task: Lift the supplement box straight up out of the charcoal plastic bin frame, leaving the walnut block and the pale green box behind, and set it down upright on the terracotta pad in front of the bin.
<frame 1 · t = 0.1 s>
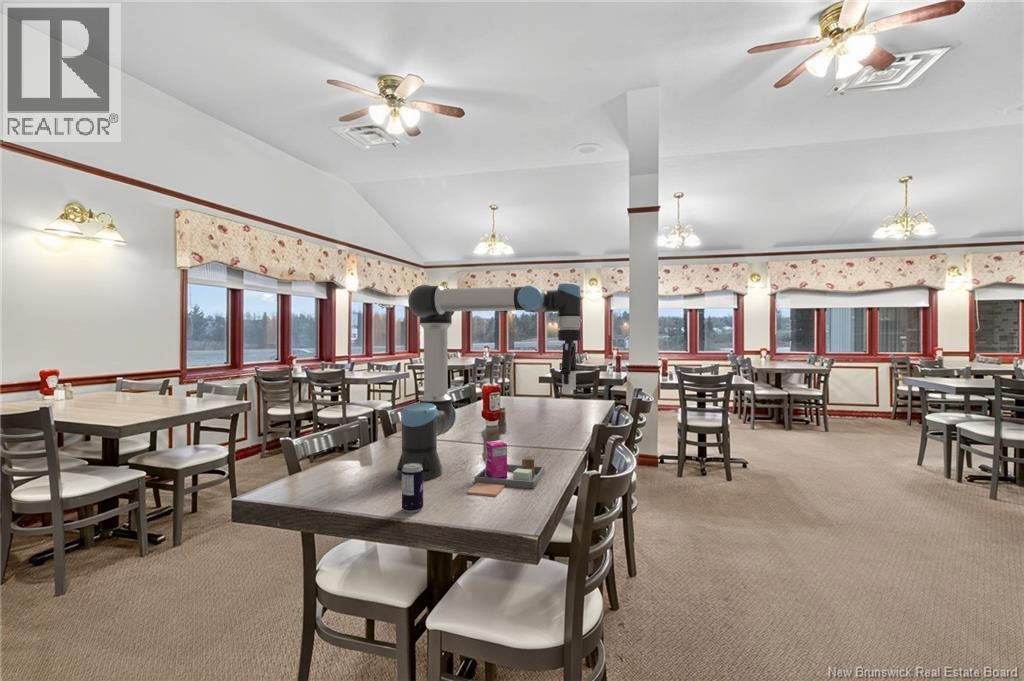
hand: (569, 391, 159), 28 cm above the table, fingers open, 13 cm apart
pad: (486, 490, 142), on the table
walnut block: (528, 475, 157), resting in bin
supplement box: (496, 477, 156), resting in bin
beverage can: (412, 510, 126), on the table
pale green box: (522, 483, 149), resting in bin
bin: (510, 477, 154), on the table
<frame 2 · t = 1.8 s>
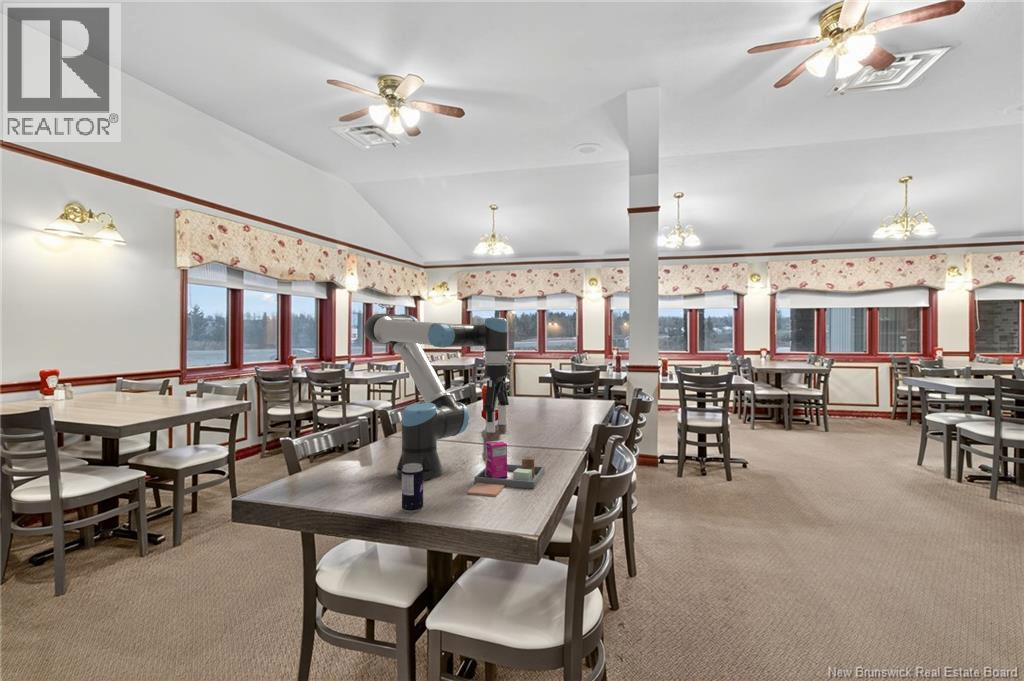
hand: (496, 428, 155), 16 cm above the table, fingers open, 13 cm apart
nothing on the table moved.
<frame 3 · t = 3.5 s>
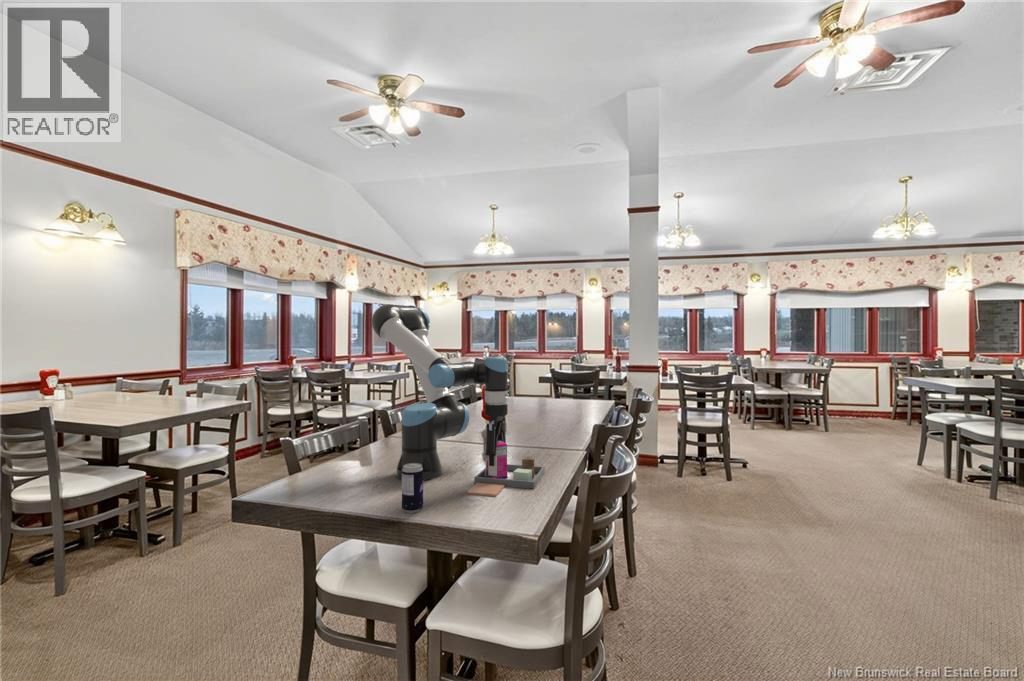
hand: (496, 471, 156), 2 cm above the table, fingers closed on supplement box, 8 cm apart
supplement box: (496, 477, 156), resting in bin, touching gripper
everything else where it was.
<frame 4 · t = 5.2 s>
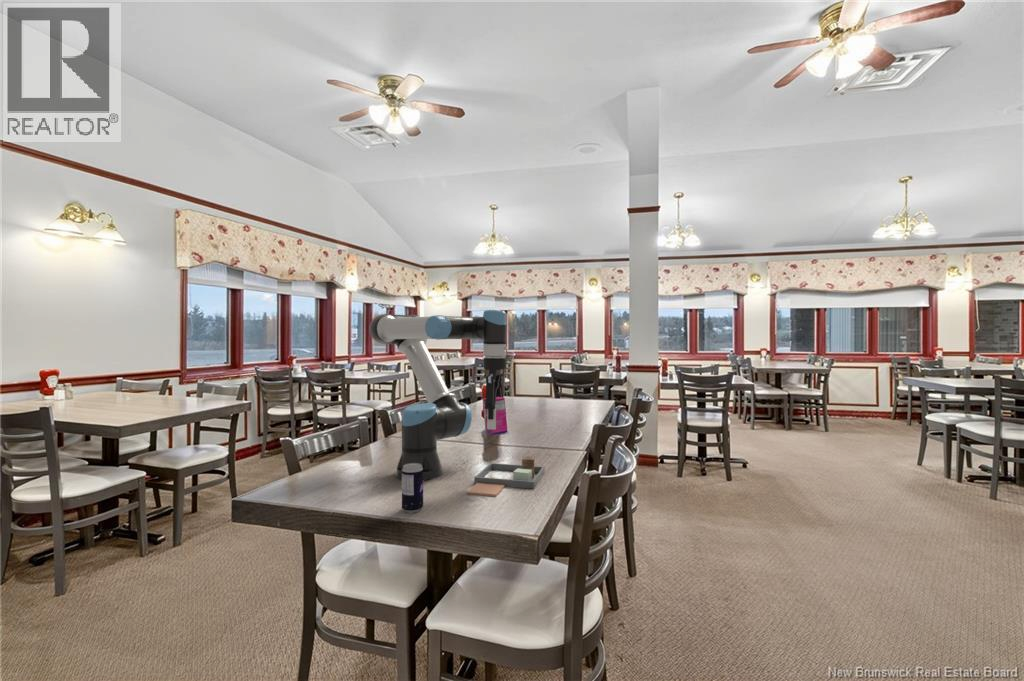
hand: (494, 426, 153), 17 cm above the table, fingers closed on supplement box, 8 cm apart
supplement box: (496, 433, 153), point 15 cm above the table, touching gripper
everything else where it was.
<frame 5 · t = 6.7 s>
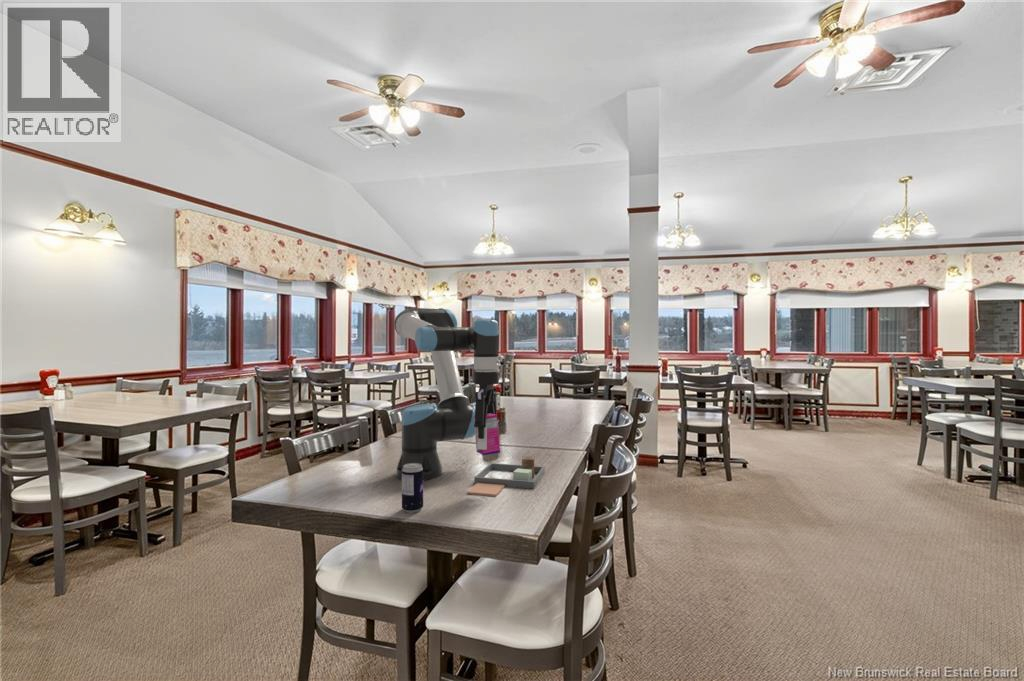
hand: (486, 445, 142), 14 cm above the table, fingers closed on supplement box, 8 cm apart
supplement box: (488, 453, 142), point 11 cm above the table, touching gripper
everything else where it was.
when the fingers open (3 cm above the table, at t = 8.8 s): supplement box stays where it is, resting on pad.
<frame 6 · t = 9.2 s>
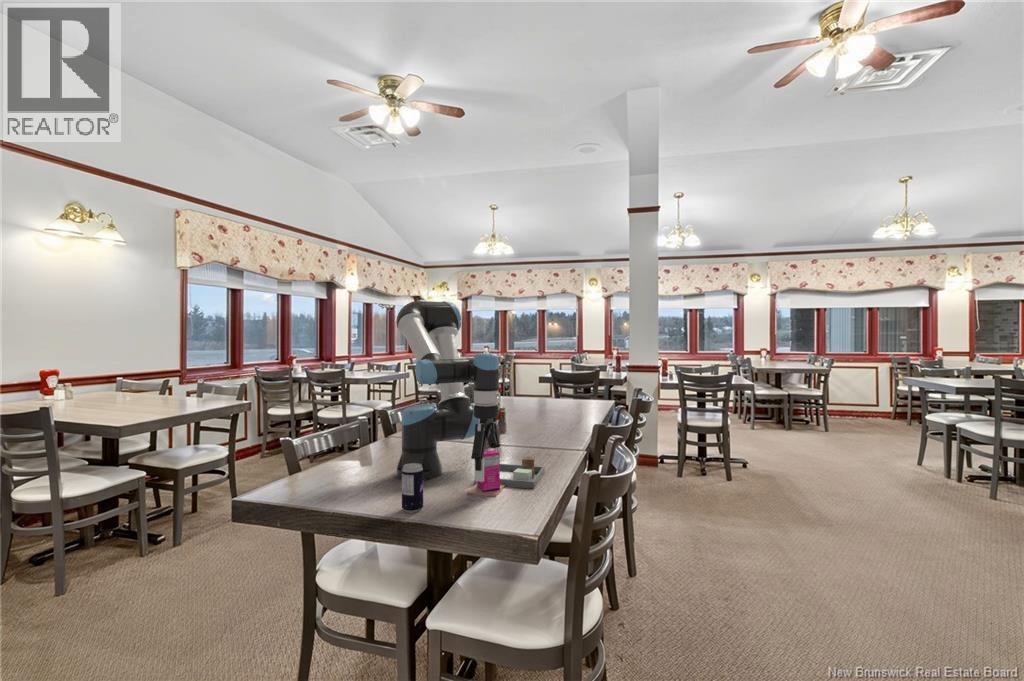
hand: (486, 474, 142), 5 cm above the table, fingers open, 13 cm apart
supplement box: (488, 489, 142), resting on pad
everything else where it was.
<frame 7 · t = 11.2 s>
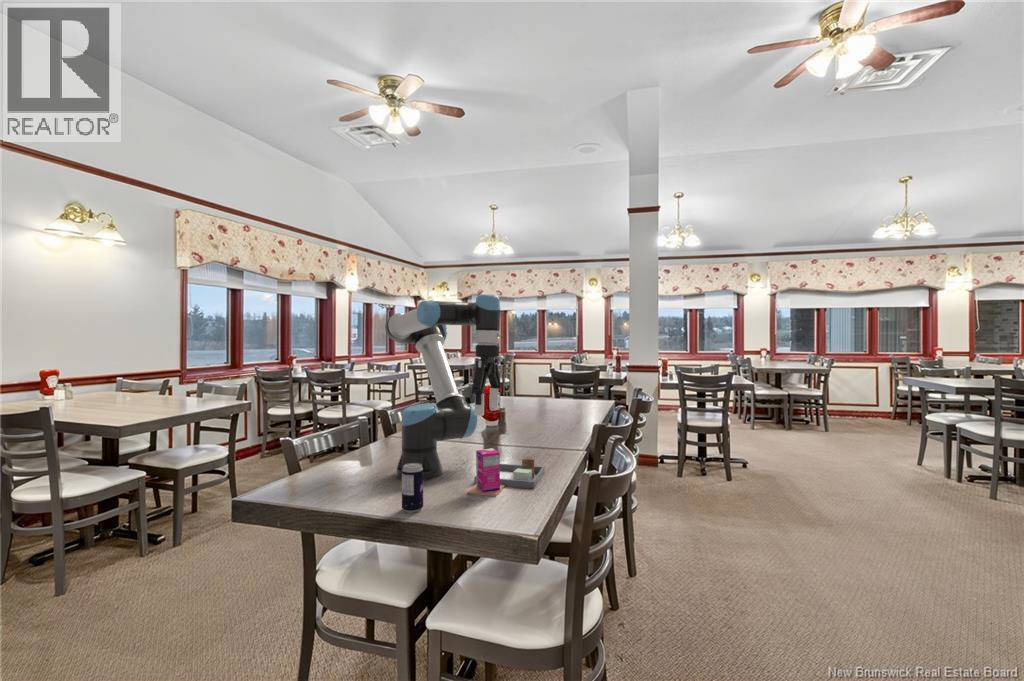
hand: (486, 411, 147), 23 cm above the table, fingers open, 13 cm apart
nothing on the table moved.
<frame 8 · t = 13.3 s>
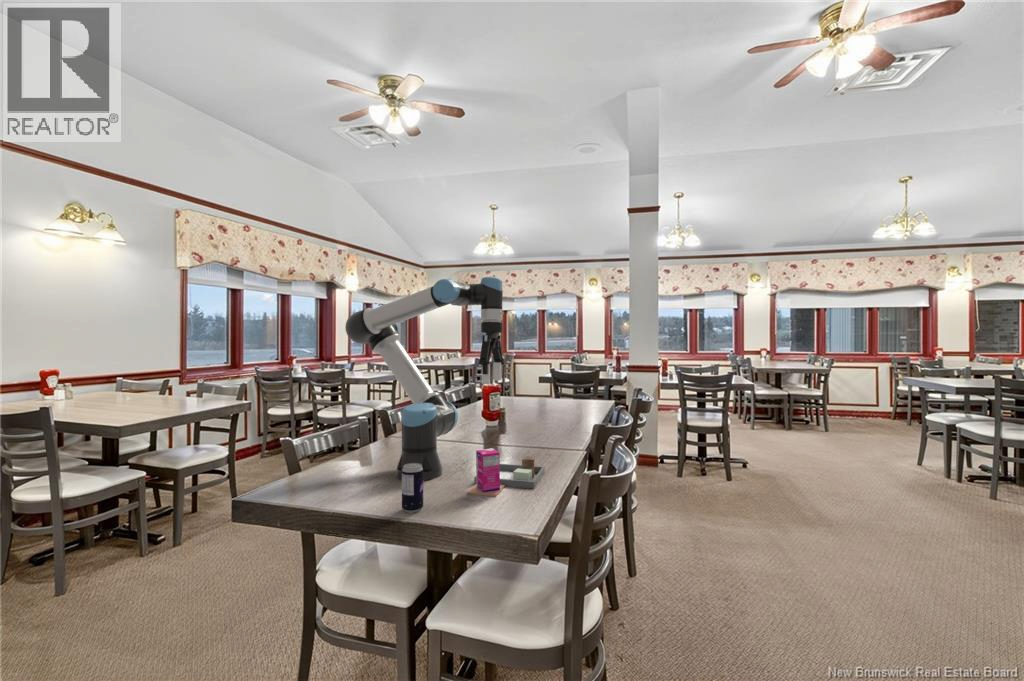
hand: (491, 382, 164), 31 cm above the table, fingers open, 13 cm apart
nothing on the table moved.
at the end: supplement box inside the target area on the pad (0.5 cm from its centre), point 0.4 cm above the pad's base; supplement box tilted 0°; the gripper is holding nothing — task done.
